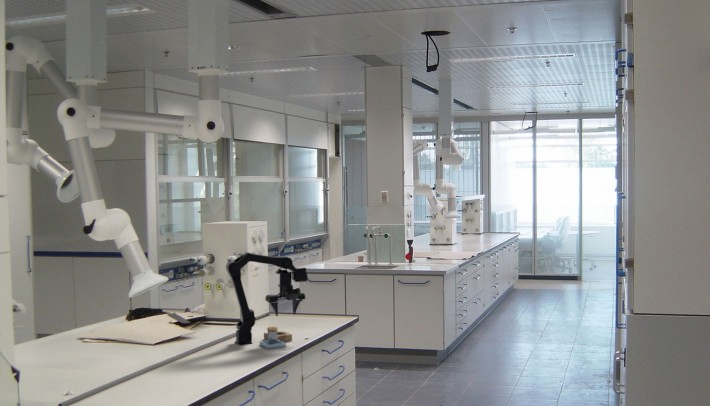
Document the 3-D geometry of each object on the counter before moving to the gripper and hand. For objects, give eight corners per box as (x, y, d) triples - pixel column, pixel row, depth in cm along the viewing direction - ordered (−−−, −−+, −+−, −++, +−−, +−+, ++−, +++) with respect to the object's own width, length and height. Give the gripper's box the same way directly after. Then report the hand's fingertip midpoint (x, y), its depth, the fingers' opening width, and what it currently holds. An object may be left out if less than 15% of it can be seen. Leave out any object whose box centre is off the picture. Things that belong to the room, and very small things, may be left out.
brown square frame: (273, 343, 345) (273, 336, 345) (263, 339, 354) (263, 332, 354) (291, 340, 351) (291, 334, 351) (282, 336, 359) (282, 330, 359)
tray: (268, 349, 333) (268, 345, 333) (259, 345, 340) (259, 341, 340) (285, 346, 338) (285, 343, 338) (276, 343, 345) (276, 339, 345)
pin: (269, 346, 336) (270, 329, 335) (265, 344, 340) (265, 327, 339) (279, 345, 338) (279, 328, 338) (274, 343, 342) (274, 326, 342)
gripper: (274, 286, 339) (275, 319, 339) (310, 283, 349) (310, 315, 349) (264, 283, 348) (265, 315, 349) (299, 280, 358) (299, 312, 359)
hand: (285, 315), depth 351 cm, fingers open, 9 cm apart
